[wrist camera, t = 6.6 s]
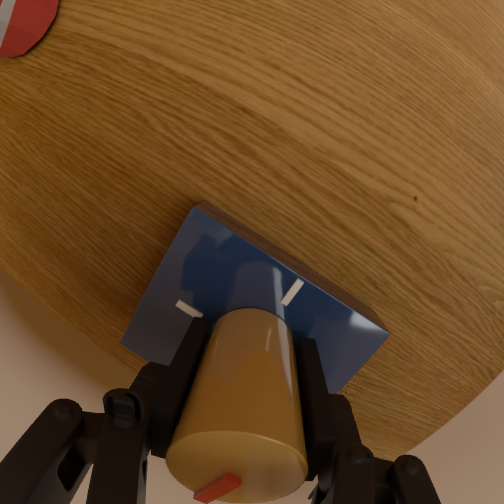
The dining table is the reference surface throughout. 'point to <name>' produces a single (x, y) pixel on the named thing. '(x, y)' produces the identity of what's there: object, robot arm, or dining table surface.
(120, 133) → the dining table surface
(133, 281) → the dining table surface
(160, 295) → the valve plate
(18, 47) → the beverage can
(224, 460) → the valve knob
